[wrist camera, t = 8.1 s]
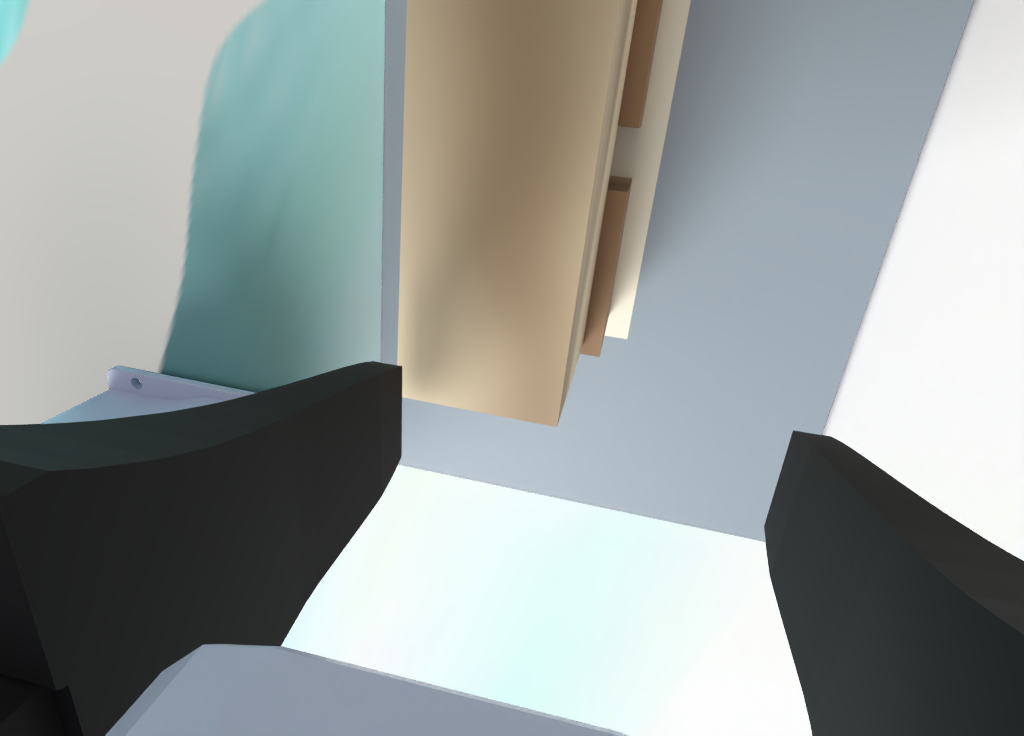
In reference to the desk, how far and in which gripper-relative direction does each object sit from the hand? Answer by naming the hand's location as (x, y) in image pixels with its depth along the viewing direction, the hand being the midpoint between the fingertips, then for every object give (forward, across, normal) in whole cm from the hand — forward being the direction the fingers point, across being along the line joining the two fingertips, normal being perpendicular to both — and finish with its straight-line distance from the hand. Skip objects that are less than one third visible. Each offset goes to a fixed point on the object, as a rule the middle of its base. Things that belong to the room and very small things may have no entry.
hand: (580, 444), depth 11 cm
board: (+10, 0, -2) cm, 11 cm away
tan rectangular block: (+6, +2, -5) cm, 8 cm away
